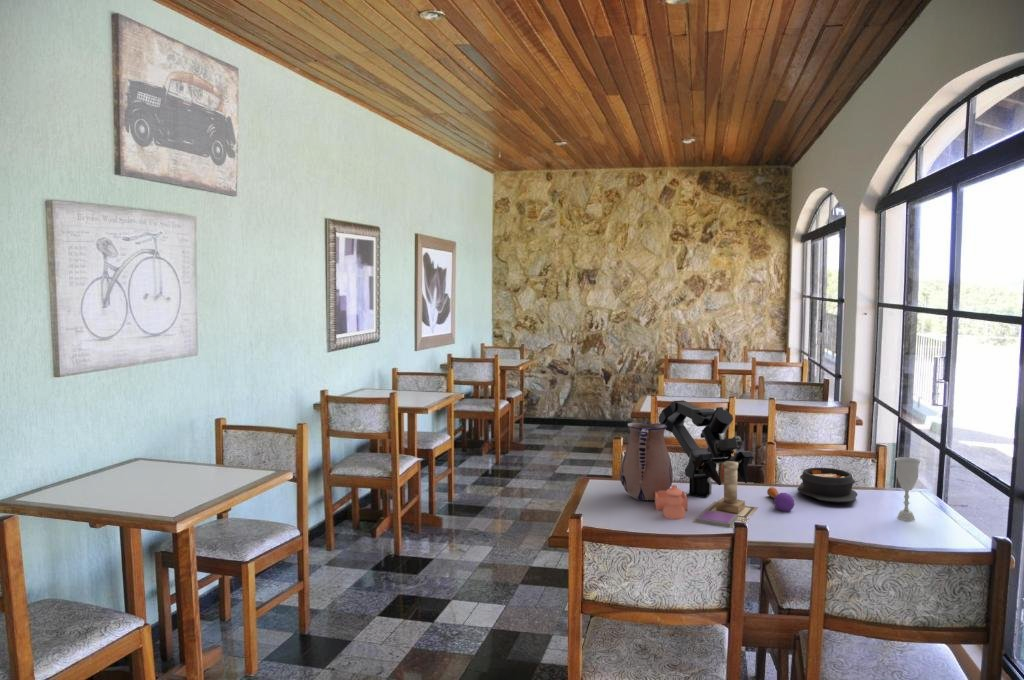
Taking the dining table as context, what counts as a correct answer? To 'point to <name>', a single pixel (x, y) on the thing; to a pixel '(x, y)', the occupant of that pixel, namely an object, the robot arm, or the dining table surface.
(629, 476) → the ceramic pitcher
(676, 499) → the pottery
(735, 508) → the stamp
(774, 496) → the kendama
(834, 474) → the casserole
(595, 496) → the dining table surface
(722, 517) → the ink pad
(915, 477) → the chalice
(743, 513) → the stamp board
